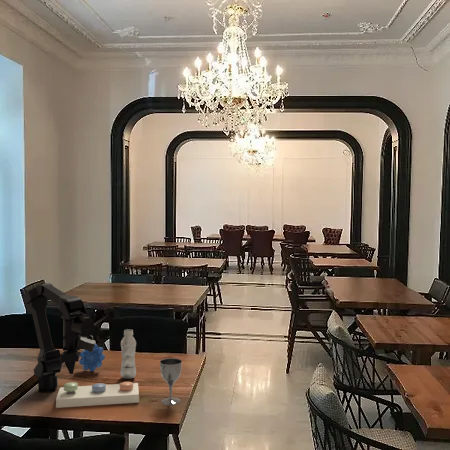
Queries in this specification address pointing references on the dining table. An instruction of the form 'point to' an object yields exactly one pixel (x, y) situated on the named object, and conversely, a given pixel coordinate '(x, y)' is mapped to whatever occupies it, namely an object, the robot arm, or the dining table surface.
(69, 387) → the button sage
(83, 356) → the grapes
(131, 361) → the plastic bottle
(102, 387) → the button blue
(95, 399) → the console
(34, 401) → the dining table surface
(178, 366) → the wine glass
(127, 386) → the button terracotta
